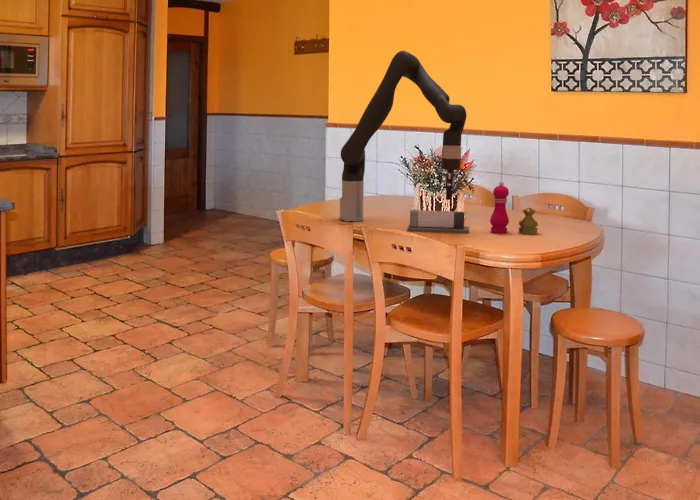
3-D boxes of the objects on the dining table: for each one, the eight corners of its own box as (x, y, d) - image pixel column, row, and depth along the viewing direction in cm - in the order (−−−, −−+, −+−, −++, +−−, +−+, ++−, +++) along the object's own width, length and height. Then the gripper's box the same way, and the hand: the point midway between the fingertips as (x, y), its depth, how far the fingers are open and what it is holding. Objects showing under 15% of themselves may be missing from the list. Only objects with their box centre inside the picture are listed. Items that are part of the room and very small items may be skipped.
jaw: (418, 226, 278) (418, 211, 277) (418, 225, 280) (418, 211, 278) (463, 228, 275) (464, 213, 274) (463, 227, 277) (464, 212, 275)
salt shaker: (535, 231, 278) (537, 206, 276) (538, 235, 270) (540, 209, 268) (516, 231, 278) (518, 206, 276) (519, 234, 271) (521, 209, 269)
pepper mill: (499, 234, 271) (502, 183, 267) (485, 231, 277) (488, 181, 272) (512, 232, 275) (514, 182, 271) (498, 229, 281) (500, 180, 277)
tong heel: (409, 226, 278) (410, 211, 277) (410, 224, 283) (411, 209, 281) (417, 226, 278) (417, 211, 276) (418, 224, 282) (418, 210, 281)
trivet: (407, 231, 276) (407, 228, 276) (409, 227, 285) (409, 224, 285) (468, 233, 273) (468, 230, 272) (468, 229, 281) (469, 226, 281)
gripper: (460, 158, 264) (458, 201, 268) (461, 155, 278) (459, 196, 281) (440, 158, 265) (438, 200, 269) (442, 155, 279) (440, 195, 283)
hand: (449, 198), depth 275 cm, fingers open, 8 cm apart
